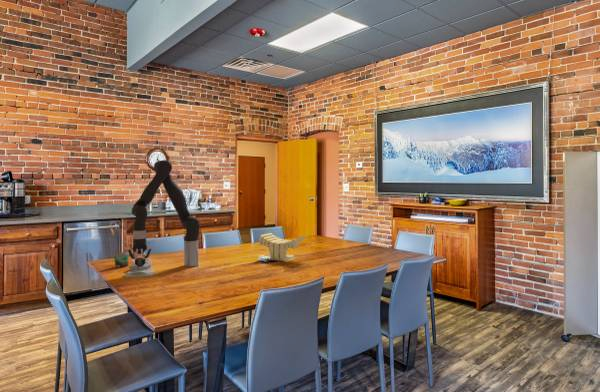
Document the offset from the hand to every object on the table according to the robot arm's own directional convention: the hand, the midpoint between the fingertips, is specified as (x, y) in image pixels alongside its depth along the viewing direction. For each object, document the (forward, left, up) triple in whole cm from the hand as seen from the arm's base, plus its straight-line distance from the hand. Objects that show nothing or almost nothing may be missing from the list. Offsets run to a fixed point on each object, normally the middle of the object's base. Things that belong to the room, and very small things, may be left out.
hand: (140, 264), depth 228 cm
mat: (0, 0, -6) cm, 6 cm away
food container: (+14, -24, -6) cm, 28 cm away
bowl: (+1, -13, -6) cm, 14 cm away
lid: (0, 0, -2) cm, 2 cm away
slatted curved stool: (-94, -18, -6) cm, 96 cm away
